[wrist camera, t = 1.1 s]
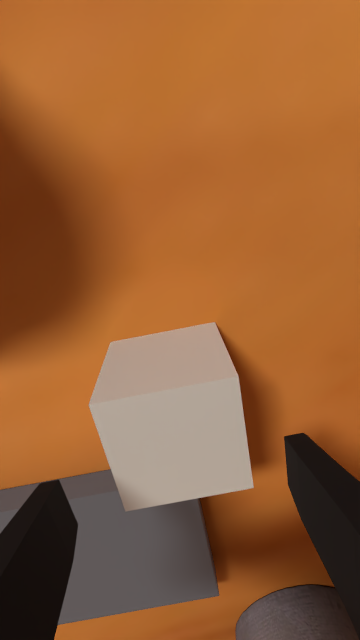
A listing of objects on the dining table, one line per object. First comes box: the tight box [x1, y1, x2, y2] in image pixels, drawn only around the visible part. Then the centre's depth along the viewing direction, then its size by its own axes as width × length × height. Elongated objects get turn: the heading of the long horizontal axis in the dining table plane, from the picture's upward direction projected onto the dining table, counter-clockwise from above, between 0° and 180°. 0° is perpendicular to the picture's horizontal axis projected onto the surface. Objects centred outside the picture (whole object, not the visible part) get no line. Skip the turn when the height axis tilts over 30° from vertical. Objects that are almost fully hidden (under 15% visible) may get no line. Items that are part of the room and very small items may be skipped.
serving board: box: [0, 470, 219, 625], centre depth 19 cm, size 14×10×2 cm
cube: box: [89, 322, 254, 512], centre depth 14 cm, size 5×5×5 cm
